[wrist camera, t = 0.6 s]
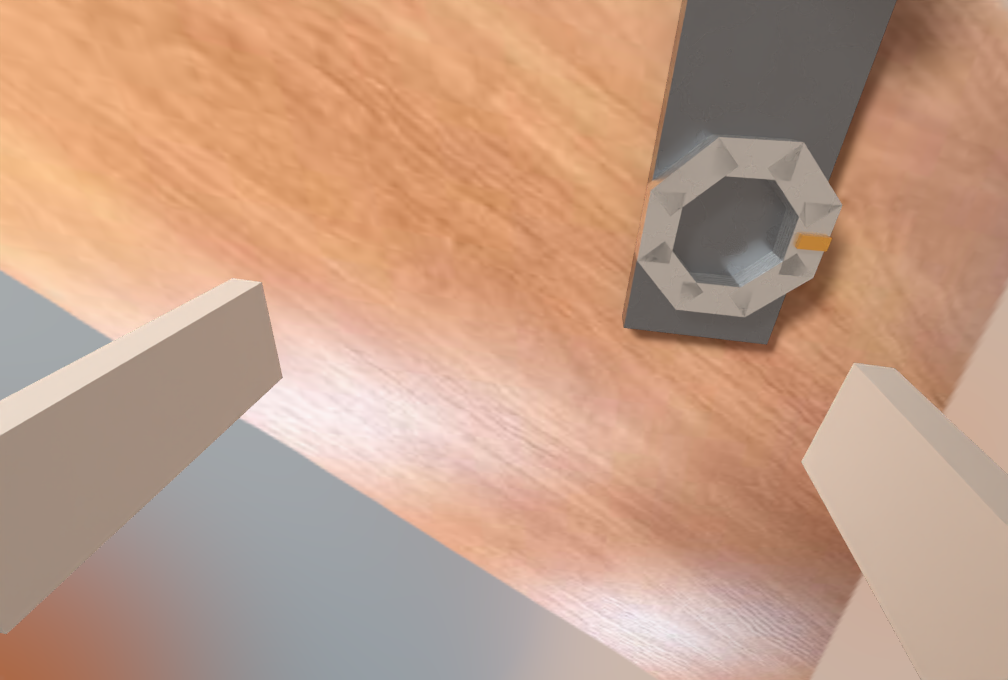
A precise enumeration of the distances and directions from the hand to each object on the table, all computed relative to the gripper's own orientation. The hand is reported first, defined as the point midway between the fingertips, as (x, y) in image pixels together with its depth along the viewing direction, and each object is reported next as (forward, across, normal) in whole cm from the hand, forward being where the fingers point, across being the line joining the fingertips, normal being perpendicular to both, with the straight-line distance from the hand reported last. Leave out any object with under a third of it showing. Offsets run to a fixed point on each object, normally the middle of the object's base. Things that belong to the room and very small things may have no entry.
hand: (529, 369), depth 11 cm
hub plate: (+24, +10, +1) cm, 26 cm away
